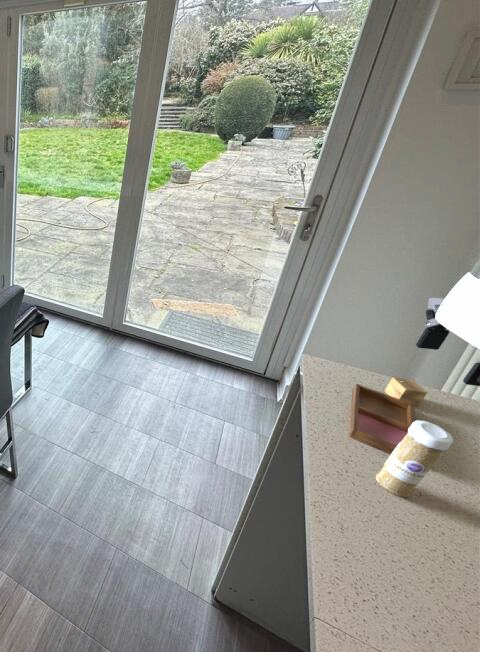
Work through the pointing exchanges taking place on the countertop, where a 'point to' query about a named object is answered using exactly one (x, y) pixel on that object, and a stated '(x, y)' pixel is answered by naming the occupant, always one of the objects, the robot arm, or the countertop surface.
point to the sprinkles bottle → (413, 457)
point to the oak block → (406, 390)
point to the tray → (379, 418)
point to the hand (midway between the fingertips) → (449, 365)
